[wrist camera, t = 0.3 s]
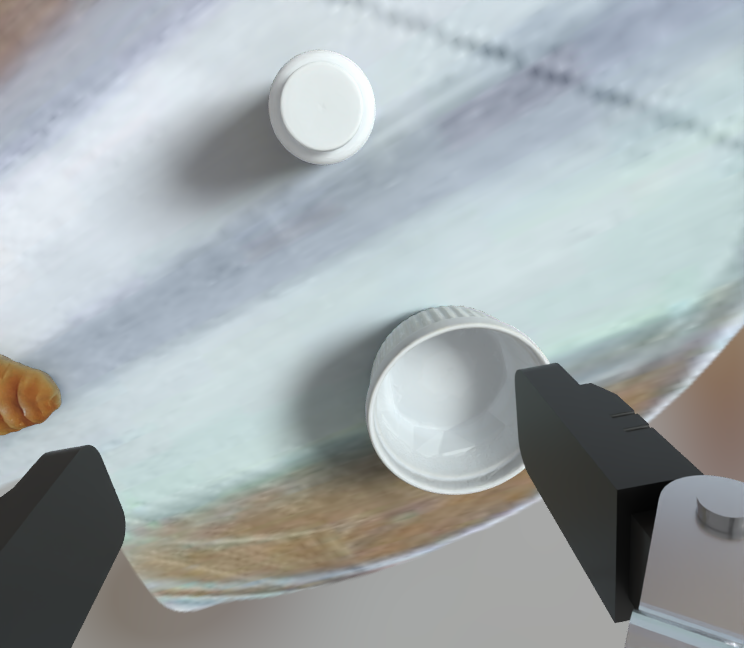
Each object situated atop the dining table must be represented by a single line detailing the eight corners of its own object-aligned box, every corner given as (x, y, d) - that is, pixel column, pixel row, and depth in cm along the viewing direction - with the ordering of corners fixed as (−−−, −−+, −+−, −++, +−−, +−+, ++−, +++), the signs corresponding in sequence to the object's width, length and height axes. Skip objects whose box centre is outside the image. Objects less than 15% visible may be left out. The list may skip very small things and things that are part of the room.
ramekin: (524, 432, 44) (558, 484, 37) (369, 452, 43) (376, 508, 37) (524, 281, 39) (563, 310, 33) (351, 302, 39) (355, 336, 32)
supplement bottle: (267, 135, 34) (243, 135, 25) (301, 51, 33) (289, 16, 23) (344, 173, 35) (349, 188, 26) (380, 93, 34) (400, 77, 24)
